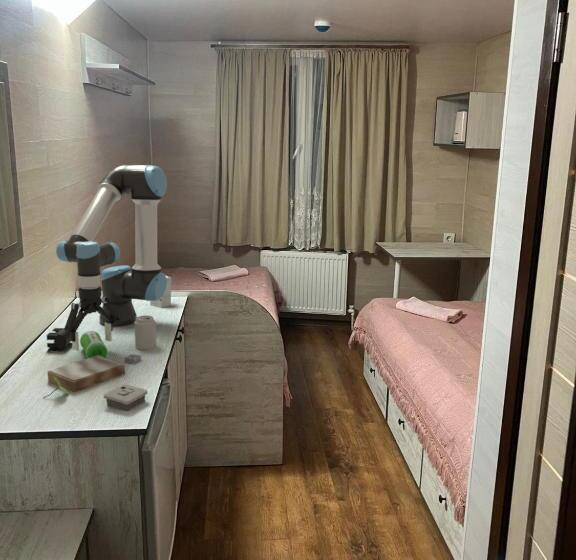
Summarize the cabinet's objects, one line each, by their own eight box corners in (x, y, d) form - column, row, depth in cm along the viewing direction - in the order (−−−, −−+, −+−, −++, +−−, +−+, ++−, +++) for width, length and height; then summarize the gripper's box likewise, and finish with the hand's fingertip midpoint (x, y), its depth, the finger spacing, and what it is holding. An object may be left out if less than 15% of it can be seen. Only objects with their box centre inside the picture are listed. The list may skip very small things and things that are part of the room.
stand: (98, 365, 212) (98, 354, 211) (124, 375, 204) (124, 364, 203) (48, 381, 198) (47, 370, 197) (74, 393, 189) (73, 381, 188)
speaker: (79, 349, 227) (78, 330, 226) (100, 347, 230) (99, 328, 229) (87, 366, 212) (85, 345, 210) (108, 363, 215) (107, 342, 213)
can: (160, 348, 230) (159, 317, 227) (143, 353, 224) (141, 321, 222) (148, 343, 235) (147, 313, 232) (131, 348, 229) (130, 317, 227)
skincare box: (150, 307, 284) (148, 275, 281) (160, 304, 289) (159, 273, 285) (162, 310, 279) (161, 278, 276) (172, 307, 284) (171, 276, 280)
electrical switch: (123, 383, 187) (147, 384, 183) (126, 400, 188) (150, 401, 184) (101, 394, 179) (125, 396, 175) (104, 411, 180) (128, 413, 175)
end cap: (66, 352, 225) (65, 334, 223) (47, 351, 225) (45, 333, 223) (75, 343, 234) (74, 325, 233) (56, 342, 234) (55, 325, 233)
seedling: (56, 413, 185) (74, 398, 187) (41, 399, 180) (60, 384, 182) (46, 399, 190) (64, 385, 192) (32, 386, 184) (50, 371, 186)
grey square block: (131, 360, 218) (130, 354, 217) (141, 362, 216) (140, 355, 216) (124, 364, 214) (124, 357, 213) (134, 366, 213) (134, 359, 212)
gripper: (112, 279, 227) (114, 334, 232) (51, 291, 208) (54, 351, 212) (125, 282, 223) (127, 339, 227) (64, 294, 203) (67, 356, 208)
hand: (92, 345), depth 220 cm, fingers open, 13 cm apart
